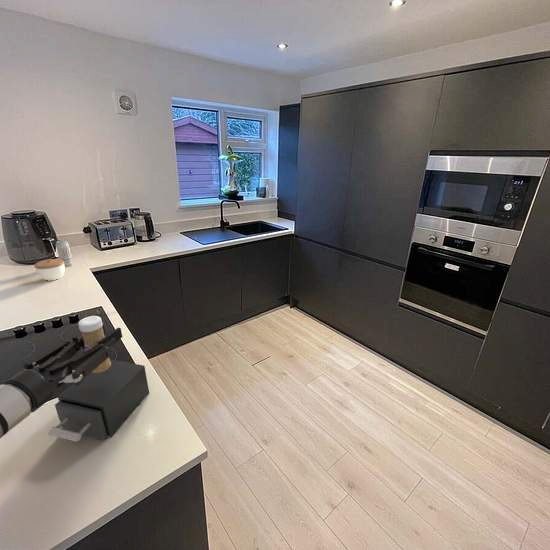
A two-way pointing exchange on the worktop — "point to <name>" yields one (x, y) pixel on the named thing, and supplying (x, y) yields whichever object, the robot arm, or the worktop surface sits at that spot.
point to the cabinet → (111, 392)
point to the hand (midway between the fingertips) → (111, 331)
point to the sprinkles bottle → (93, 337)
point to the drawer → (78, 422)
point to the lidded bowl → (50, 269)
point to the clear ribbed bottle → (64, 252)
